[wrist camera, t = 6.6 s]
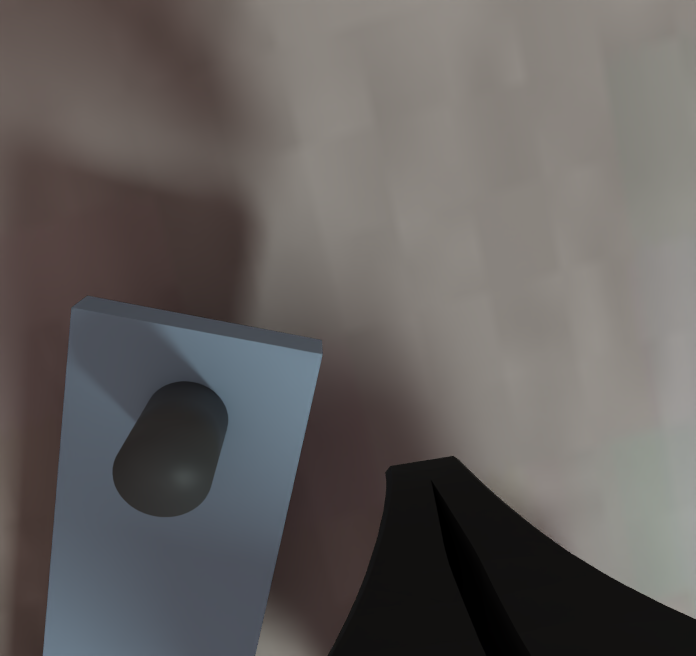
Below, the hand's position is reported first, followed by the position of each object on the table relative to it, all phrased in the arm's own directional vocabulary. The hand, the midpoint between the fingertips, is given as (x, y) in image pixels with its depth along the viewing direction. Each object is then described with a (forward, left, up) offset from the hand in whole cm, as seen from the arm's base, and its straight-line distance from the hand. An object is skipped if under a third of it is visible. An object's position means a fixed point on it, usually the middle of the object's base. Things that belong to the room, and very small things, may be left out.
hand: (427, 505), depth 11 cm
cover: (+6, +7, -5) cm, 10 cm away
